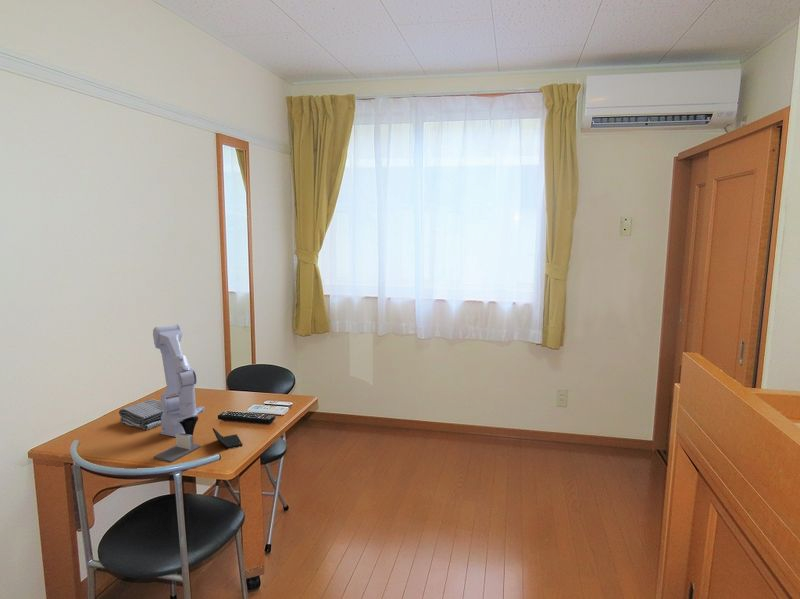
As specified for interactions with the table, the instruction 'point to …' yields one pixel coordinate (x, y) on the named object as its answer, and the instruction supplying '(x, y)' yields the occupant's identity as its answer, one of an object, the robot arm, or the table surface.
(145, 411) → the towel
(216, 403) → the table surface
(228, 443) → the handheld gaming console
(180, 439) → the card deck
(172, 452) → the grey rectangular slab
